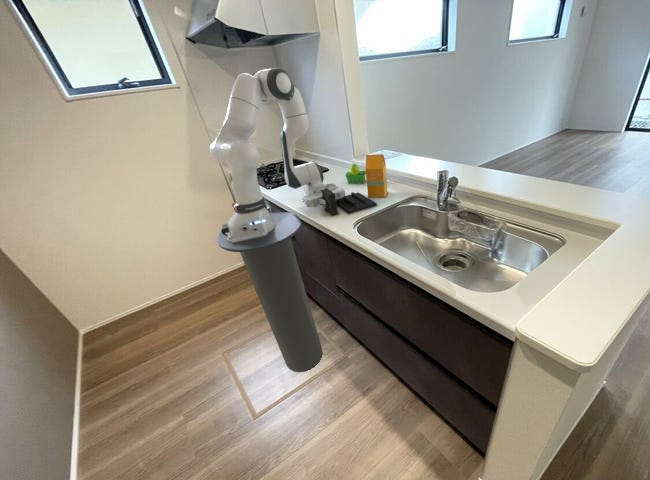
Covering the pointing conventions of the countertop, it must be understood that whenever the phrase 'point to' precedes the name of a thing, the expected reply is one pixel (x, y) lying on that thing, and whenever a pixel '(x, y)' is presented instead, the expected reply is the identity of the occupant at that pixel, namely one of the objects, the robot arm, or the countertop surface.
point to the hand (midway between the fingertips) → (330, 201)
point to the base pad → (355, 203)
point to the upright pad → (330, 202)
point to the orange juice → (376, 176)
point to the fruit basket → (355, 175)
